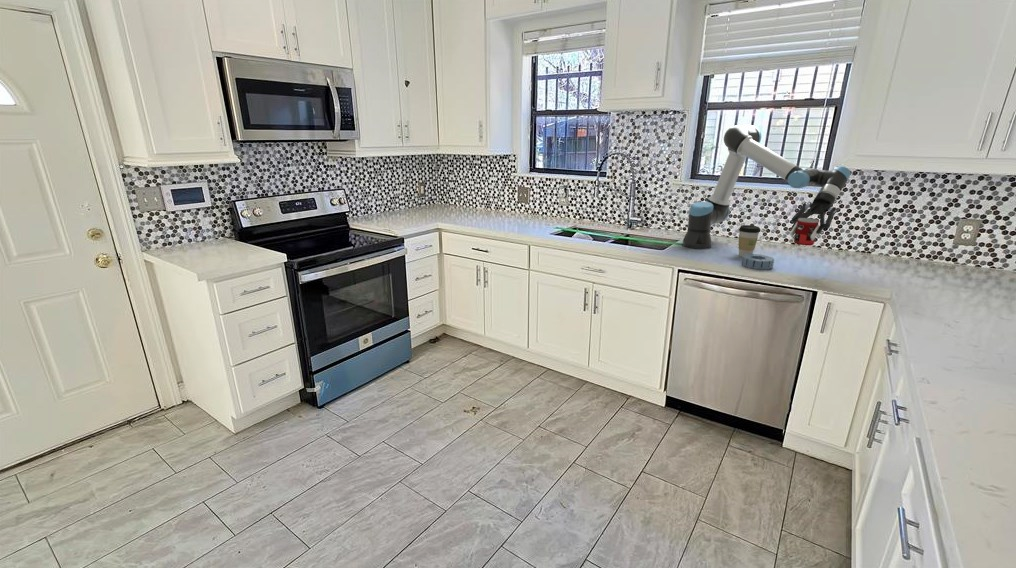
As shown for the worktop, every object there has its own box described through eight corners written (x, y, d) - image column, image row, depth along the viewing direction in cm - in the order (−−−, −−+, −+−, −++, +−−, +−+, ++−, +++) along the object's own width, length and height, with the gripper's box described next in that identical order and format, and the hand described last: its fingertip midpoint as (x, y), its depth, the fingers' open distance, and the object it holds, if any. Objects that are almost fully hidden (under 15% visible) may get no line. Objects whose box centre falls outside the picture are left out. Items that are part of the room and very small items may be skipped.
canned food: (794, 240, 215) (798, 217, 211) (814, 243, 210) (819, 219, 207) (792, 244, 209) (797, 220, 205) (813, 246, 204) (818, 222, 201)
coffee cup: (758, 258, 233) (763, 229, 228) (737, 257, 235) (741, 228, 230) (752, 253, 242) (757, 225, 237) (732, 252, 244) (736, 224, 239)
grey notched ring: (736, 264, 223) (737, 256, 222) (751, 260, 230) (752, 252, 229) (762, 271, 213) (764, 262, 212) (777, 266, 220) (779, 258, 219)
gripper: (853, 205, 204) (828, 246, 201) (803, 199, 220) (779, 237, 217) (851, 194, 199) (825, 236, 196) (800, 188, 215) (775, 227, 212)
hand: (801, 236), depth 207 cm, fingers closed on canned food, 8 cm apart
